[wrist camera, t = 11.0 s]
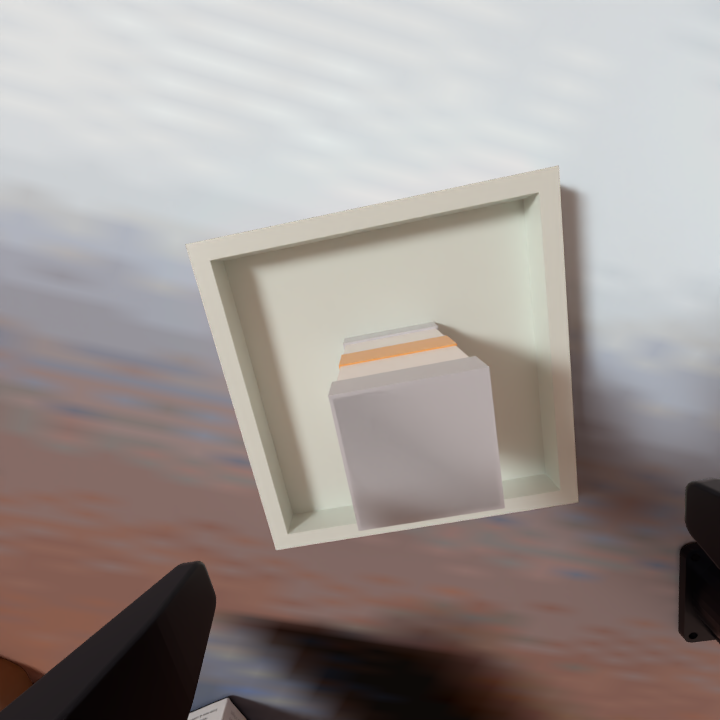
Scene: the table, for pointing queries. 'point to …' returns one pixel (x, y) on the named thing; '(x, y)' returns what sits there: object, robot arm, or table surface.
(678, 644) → the table surface
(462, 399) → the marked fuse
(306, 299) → the tray
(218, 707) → the ink box
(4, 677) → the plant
